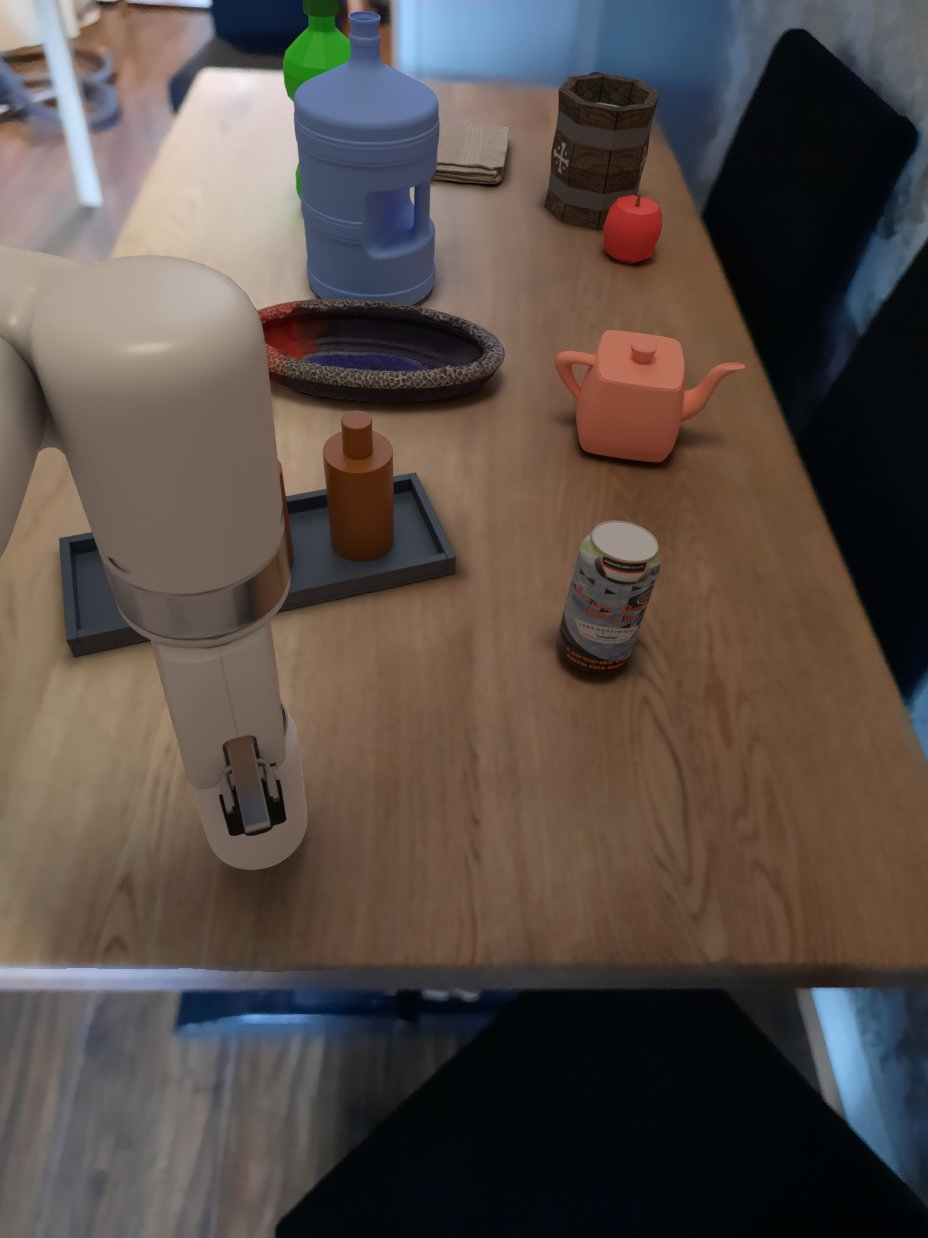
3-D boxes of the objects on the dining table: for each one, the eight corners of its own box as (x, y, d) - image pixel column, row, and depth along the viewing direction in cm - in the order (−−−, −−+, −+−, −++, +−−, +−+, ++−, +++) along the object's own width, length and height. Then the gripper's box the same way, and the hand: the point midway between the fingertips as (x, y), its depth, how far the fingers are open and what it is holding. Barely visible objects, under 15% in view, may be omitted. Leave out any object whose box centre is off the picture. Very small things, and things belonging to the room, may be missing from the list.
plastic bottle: (362, 232, 114) (354, 10, 95) (285, 222, 115) (262, -1, 96) (378, 199, 121) (374, -14, 102) (306, 190, 122) (288, -24, 102)
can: (274, 765, 59) (256, 658, 50) (327, 834, 56) (318, 734, 47) (188, 817, 56) (152, 713, 47) (239, 893, 53) (211, 798, 44)
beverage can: (548, 674, 68) (571, 570, 59) (563, 607, 73) (586, 502, 64) (626, 692, 68) (661, 590, 58) (636, 623, 72) (670, 519, 63)
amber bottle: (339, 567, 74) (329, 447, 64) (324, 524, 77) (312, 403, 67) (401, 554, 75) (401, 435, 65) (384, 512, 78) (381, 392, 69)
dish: (495, 429, 88) (500, 387, 85) (203, 396, 89) (195, 354, 85) (506, 346, 98) (511, 306, 95) (244, 318, 99) (237, 277, 95)
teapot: (550, 389, 93) (564, 301, 85) (715, 412, 92) (744, 325, 84) (540, 455, 86) (554, 365, 78) (719, 481, 85) (752, 392, 77)
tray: (74, 657, 67) (66, 640, 65) (66, 555, 74) (58, 537, 72) (455, 573, 75) (456, 556, 73) (415, 488, 82) (416, 471, 80)
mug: (645, 231, 119) (671, 113, 108) (549, 227, 118) (565, 108, 107) (621, 171, 132) (642, 59, 120) (534, 167, 131) (547, 55, 119)
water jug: (287, 300, 102) (256, 25, 81) (337, 242, 112) (322, -16, 91) (410, 327, 100) (412, 51, 79) (450, 266, 110) (462, 6, 88)
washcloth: (422, 181, 125) (423, 159, 123) (434, 134, 137) (435, 113, 135) (503, 189, 125) (505, 167, 123) (508, 140, 137) (510, 119, 135)
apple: (638, 276, 111) (651, 214, 105) (586, 255, 114) (596, 194, 108) (667, 254, 115) (682, 193, 109) (616, 234, 118) (628, 174, 112)
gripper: (92, 448, 41) (162, 672, 55) (128, 746, 31) (203, 930, 44) (250, 426, 43) (279, 647, 57) (333, 698, 33) (345, 888, 46)
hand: (246, 770), depth 50 cm, fingers closed on can, 6 cm apart
